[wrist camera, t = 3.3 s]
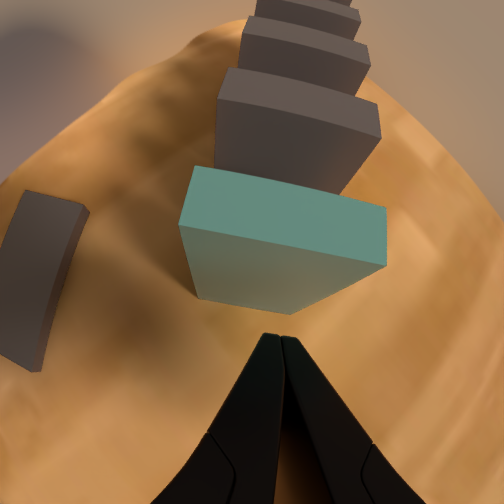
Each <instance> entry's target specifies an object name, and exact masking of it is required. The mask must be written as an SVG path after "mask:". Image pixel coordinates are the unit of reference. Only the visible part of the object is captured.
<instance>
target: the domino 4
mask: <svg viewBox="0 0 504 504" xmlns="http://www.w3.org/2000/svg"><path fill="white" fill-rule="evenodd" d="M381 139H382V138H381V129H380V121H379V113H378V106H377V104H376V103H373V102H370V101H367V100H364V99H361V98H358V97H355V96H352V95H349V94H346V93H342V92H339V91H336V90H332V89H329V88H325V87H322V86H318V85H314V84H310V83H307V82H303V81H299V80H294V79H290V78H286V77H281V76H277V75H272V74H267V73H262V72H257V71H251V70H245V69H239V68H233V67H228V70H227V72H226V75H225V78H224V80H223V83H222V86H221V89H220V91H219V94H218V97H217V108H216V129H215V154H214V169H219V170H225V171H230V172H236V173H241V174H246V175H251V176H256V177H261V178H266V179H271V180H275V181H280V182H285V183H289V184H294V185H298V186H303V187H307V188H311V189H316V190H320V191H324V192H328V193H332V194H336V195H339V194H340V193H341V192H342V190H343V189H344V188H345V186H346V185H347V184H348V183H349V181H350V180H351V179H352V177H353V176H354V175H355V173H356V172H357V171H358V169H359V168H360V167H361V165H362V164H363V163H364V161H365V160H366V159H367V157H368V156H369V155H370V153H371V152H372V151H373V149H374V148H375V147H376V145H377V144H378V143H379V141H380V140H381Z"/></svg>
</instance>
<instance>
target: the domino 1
mask: <svg viewBox="0 0 504 504" xmlns="http://www.w3.org/2000/svg"><path fill="white" fill-rule="evenodd" d="M89 213H90V212H89V211H88V210H87V208H86V207H85V206H84V205H83V204H79V203H75V202H71V201H67V200H63V199H60V198H56V197H52V196H48V195H44V194H40V193H36V192H32V191H28V190H25V192H24V194H23V196H22V198H21V200H20V202H19V204H18V207H17V209H16V211H15V213H14V216H13V218H12V221H11V223H10V225H9V228H8V230H7V233H6V235H5V238H4V241H3V243H2V246H1V249H0V354H1V355H3V356H4V357H6V358H8V359H9V360H11V361H13V362H14V363H16V364H18V365H20V366H21V367H23V368H25V369H27V370H29V371H30V372H41V369H42V364H43V359H44V355H45V350H46V346H47V341H48V337H49V333H50V329H51V325H52V321H53V318H54V314H55V310H56V307H57V303H58V300H59V297H60V293H61V290H62V287H63V284H64V280H65V277H66V274H67V271H68V268H69V266H70V263H71V260H72V257H73V254H74V251H75V249H76V246H77V243H78V241H79V238H80V236H81V233H82V230H83V228H84V225H85V223H86V221H87V218H88V216H89Z"/></svg>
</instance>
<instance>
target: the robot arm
mask: <svg viewBox="0 0 504 504" xmlns="http://www.w3.org/2000/svg"><path fill="white" fill-rule="evenodd" d="M372 443H373V441H372V439H371V438H370V437H369V435H368V434H367V433H366V431H365V430H364V429H363V427H362V426H361V425H360V423H359V422H358V421H357V419H356V418H355V416H354V415H353V414H352V412H351V411H350V410H349V408H348V407H347V406H346V404H345V403H344V401H343V400H342V399H341V397H340V396H339V395H338V393H337V392H336V390H335V389H334V388H333V386H332V385H331V384H330V382H329V381H328V379H327V378H326V377H325V375H324V374H323V373H322V371H321V370H320V368H319V367H318V366H317V364H316V363H315V361H314V360H313V359H312V357H311V356H310V355H309V353H308V352H307V350H306V349H305V348H304V346H303V345H302V343H301V342H300V341H299V339H297V338H296V337H290V336H281V337H280V336H279V335H277V334H271V333H263V334H262V336H261V338H260V339H259V341H258V343H257V345H256V347H255V349H254V350H253V352H252V354H251V356H250V358H249V359H248V361H247V363H246V365H245V366H244V368H243V370H242V372H241V374H240V375H239V377H238V379H237V381H236V382H235V384H234V386H233V387H232V389H231V391H230V393H229V394H228V396H227V398H226V400H225V401H224V403H223V405H222V406H221V408H220V410H219V411H218V413H217V415H216V417H215V418H214V420H213V422H212V423H211V425H210V427H209V428H208V430H207V433H205V434H204V436H203V438H202V439H201V441H200V443H199V444H198V446H197V447H196V449H195V450H194V452H193V453H192V455H191V456H190V458H189V459H188V461H187V462H186V463H185V465H184V466H183V467H182V469H181V470H180V471H179V472H178V473H177V475H176V476H175V477H174V478H173V479H172V481H171V482H170V483H169V484H168V485H167V486H166V487H165V488H164V490H163V491H162V492H161V493H160V494H159V495H158V496H157V497H156V498H155V499H154V500H153V501H152V502H151V503H150V504H426V503H425V502H424V501H423V500H422V499H421V498H420V497H419V496H418V495H417V494H416V493H415V492H414V491H413V489H412V488H411V487H410V486H409V485H408V484H407V483H406V482H405V481H404V480H403V479H402V477H401V476H400V475H399V474H398V473H397V472H396V471H395V469H394V468H393V467H392V466H391V464H390V463H389V462H388V461H387V459H386V458H385V457H384V455H383V454H382V453H381V451H380V450H379V449H378V447H377V446H376V445H375V444H372Z"/></svg>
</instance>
